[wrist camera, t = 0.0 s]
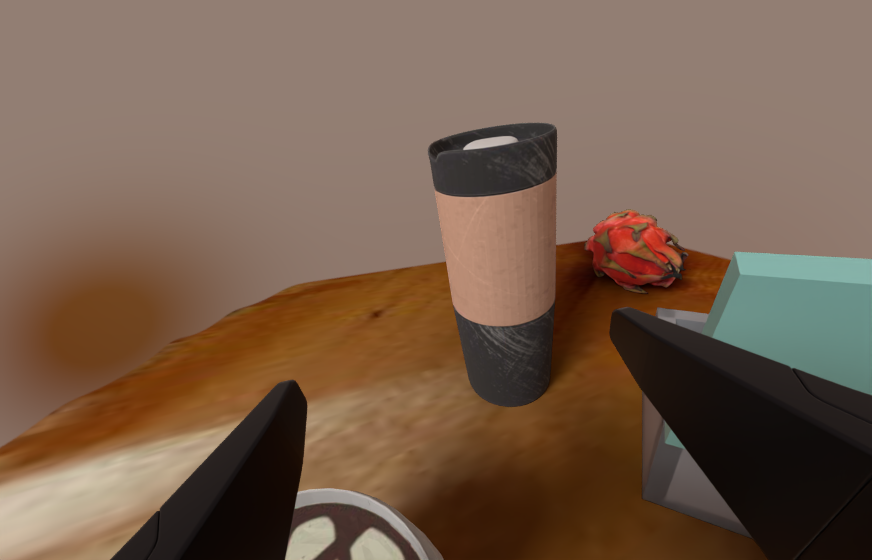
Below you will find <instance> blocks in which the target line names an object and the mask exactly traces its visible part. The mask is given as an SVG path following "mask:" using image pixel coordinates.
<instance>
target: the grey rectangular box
mask: <svg viewBox="0 0 872 560" xmlns="http://www.w3.org/2000/svg"><path fill="white" fill-rule="evenodd" d="M708 316H709V314H704V313H696V312H688V311H680V310H672V309H664V308H657V312H656V316H655V317H658V318H660V319H663V320H666V321H669V322H671V323H674V324H677V325H679V326H682V327H685V328H688V329H690V330H693V331H696V332H698V333H702V331H703V328H704V326H705V323H706V321H707V318H708ZM642 499H645V500H647V501H650V502H653V503H656V504H658V505H661V506H664V507H667V508H669V509H672V510H675V511H678V512H680V513H683V514H686V515H689V516H691V517H694V518H697V519H700V520H702V521H705V522H708V523H711V524H713V525H716V526H719V527H722V528H724V529H727V530H730V531H733V532H735V533H738V534H741V535H744V536H746V537H749V538H752V537H751V536H750V534H749V533H748V532H747V530H746V529H745V528H744V526H743V525H742V524H741V522H740V521H739V520H738V518H737V517H736V516H735V514H734V513H733V511H732V510H731V509H730V507H729V506H728V505H727V503H726V502H725V501H724V499H723V498H722V497H721V495H720V494H719V493H718V491H717V490H716V489H715V487H714V486H713V485H712V483H711V482H710V481H709V479H708V478H707V477H706V475H705V474H704V473H703V471H702V470H701V469H700V467H699V466H698V465H697V463H696V462H695V461H694V459H693V458H692V457H691V455H690V454H689V453H688V451H687V450H686V449H683V448H680V447H676V446H673V445H669V444H666V443H665V421H664V419H663V418H662V417H661V415H660V414H659V413H658V411H657V410H656V409H655V407H654V406H653V405H652V403H651V402H650V401H649V399H648V398H647V397H646V395H645V394H644V392H643V391H642ZM752 539H753V538H752Z"/></svg>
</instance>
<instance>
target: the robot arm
mask: <svg viewBox="0 0 872 560" xmlns="http://www.w3.org/2000/svg"><path fill="white" fill-rule="evenodd" d="M610 338H611V340H612V342H613V344H614V346H615V347H616V349H617V351H618V352H619V354H620V356H621V357H622V359H623V361H624V362H625V364H626V366H627V367H628V369H629V371H630V372H631V374H632V376H633V377H634V379H635V381H636V382H637V384H638V385H639V387H640V388H641V390H642V391H643V392H644V394H645V395H646V397H647V398H648V399H649V401H650V402H651V403H652V405H653V406H654V407H655V409H656V410H657V411H658V413H659V414H660V415H661V417H662V418H663V419H664V421H665V422H666V423H667V425H668V426H669V427H670V429H671V430H672V431H673V433H674V434H675V435H676V437H677V438H678V439H679V441H680V442H681V443H682V445H683V446H684V447H685V449H686V450H687V451H688V453H689V454H690V455H691V457H692V458H693V459H694V461H695V462H696V463H697V465H698V466H699V467H700V469H701V470H702V471H703V473H704V474H705V475H706V477H707V478H708V479H709V481H710V482H711V483H712V485H713V486H714V487H715V489H716V490H717V491H718V493H719V494H720V495H721V497H722V498H723V499H724V501H725V502H726V503H727V505H728V506H729V507H730V509H731V510H732V511H733V513H734V514H735V516H736V517H737V518H738V520H739V521H740V522H741V524H742V525H743V526H744V528H745V529H746V530H747V532H748V533H749V534H750V536H751V537H752V538H753V540H754V541H755V542H756V544H757V545H758V546H759V548H760V549H761V550H762V552H763V553H764V554H765V556H766V557H767V558H768V560H872V395H870V394H867V393H864V392H861V391H858V390H855V389H852V388H849V387H846V386H843V385H840V384H838V383H835V382H832V381H829V380H826V379H823V378H821V377H818V376H815V375H812V374H810V373H807V372H804V371H802V370H799V369H796V368H792V369H791V367H790V366H788V365H785V364H782V363H780V362H777V361H774V360H772V359H769V358H766V357H763V356H761V355H758V354H755V353H753V352H750V351H747V350H744V349H742V348H739V347H736V346H734V345H731V344H728V343H725V342H723V341H720V340H717V339H715V338H712V337H709V336H707V335H704V334H701V333H698V332H696V331H693V330H690V329H688V328H685V327H682V326H679V325H677V324H674V323H671V322H669V321H666V320H663V319H660V318H658V317H655V316H652V315H650V314H647V313H644V312H641V311H639V310H636V309H633V308H630V307H625V308H620V309H616V310H614V311H613V312H612V317H611V324H610ZM306 419H307V401H306V398H305V396H304V394H303V393H302V391H301V389H300V387H299V385H298V384H297V382H296V381H295V380H288V381H284V382H280V383H278V384H277V385H276V386H275V387H274V388H273V389H272V390H271V391H270V392H269V393H268V394H267V395H266V396H265V397H264V399H263V400H262V401H261V402H260V403H259V404H258V405H257V406H256V407H255V408H254V409H253V410H252V411H251V412H250V413H249V414H248V415H247V416H246V418H245V419H244V420H243V421H242V422H241V423H240V424H239V425H238V426H237V427H236V428H235V429H234V430H233V431H232V432H231V433H230V434H229V436H228V437H227V438H226V439H225V440H224V441H223V442H222V443H221V444H220V445H219V446H218V447H217V448H216V449H215V450H214V451H213V452H212V454H211V455H210V456H209V457H208V458H207V459H206V460H205V461H204V462H203V463H202V464H201V465H200V466H199V467H198V468H197V469H196V470H195V471H194V473H193V474H192V475H191V476H190V477H189V478H188V479H187V480H186V481H185V482H184V483H183V484H182V485H181V486H180V487H179V488H178V489H177V491H176V492H175V493H174V494H173V495H172V496H171V497H170V498H169V499H168V500H167V501H166V502H165V503H164V504H163V505H162V506H161V508H160V511H157V512H156V513H155V514H154V515H153V516H152V517H151V518H150V519H149V520H148V521H147V522H146V523H145V524H144V525H143V526H142V527H141V528H140V530H139V531H138V532H137V533H136V534H135V535H134V536H133V537H132V538H131V539H130V540H129V541H128V542H127V543H126V544H125V545H124V546H123V547H122V548H121V549H120V550H119V551H118V552H117V553H116V554H115V555H114V556H113V557H112V558H111V559H110V560H285V557H286V552H287V547H288V541H289V536H290V531H291V525H292V520H293V515H294V509H295V504H296V498H297V493H298V488H299V482H300V477H301V471H302V465H303V457H304V445H305V432H306Z"/></svg>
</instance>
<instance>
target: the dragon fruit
mask: <svg viewBox="0 0 872 560" xmlns="http://www.w3.org/2000/svg"><path fill="white" fill-rule="evenodd" d="M593 231H594V233H595V235H594V236H591V237H590V238H589V239H588V241H587V243H585V244H584V246H585V250H587V251H593V252H594V258H593V263H592V264H593V269H594V271H595V270H596V271H595V274H596V275H597V276H598V277H602V276H604V275H605V273H606V274H607V275H608V276H609V277H611V278H612V279H613V280H615V282H616V283H617V284H618V285H620V286H622V287H624V288H623V289H625V290H629V291H632V292H636V293H647V292H646V291H644V290H643V289H642V288H641V287H639V286H638V285H644V284H646V283H650V284H652V285H657V286H659V285H661V286H663V287H666V288H667V287H668V286H669V285H670V284H671V283H672V282H673V281H674V280H675V278H679V279H680V280H682V275H681V273H680V274H678V273H679V271H681V270H685V269H684V268H683V263H684V260H685V259H686V258H687V256H688V254H687V253H684V252H683V253H682V254H680V253H678V252H676V251H675V250H673V249H672V248H670V247H668V246H667V244H666V243H667V242H669V241H671V240H672V242H673V244H674V245H675V246H676V247H677V248H678V249H680V250H683V251H685V249H684V248H682V247H681V246H679V245H678V244H677V243H678V239H677V238H676V237H675V236H674V235H672V234H671V233H669V232H668V231H666V230H664V229H663V228H659V227H657V219H656V218H655V217H654V216H651V215H647V216H645V215H640V214H639V213H638V212H637V211H635V210H631V209H628V210H625V211H622V212H620V213H616V212H614V213H612V214H611V215H610V216H608V217H607V219H606V220H602V221H601V222H600V223H599V224H597V225H596V226H595V227H594V228H593ZM672 270H673V272H674V273H672ZM689 270H691V269H689Z"/></svg>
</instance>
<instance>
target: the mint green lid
mask: <svg viewBox="0 0 872 560" xmlns="http://www.w3.org/2000/svg"><path fill="white" fill-rule="evenodd" d="M701 334H704V335H707V336H709V337H712V338H715V339H717V340H720V341H723V342H725V343H728V344H731V345H734V346H736V347H739V348H742V349H744V350H747V351H750V352H753V353H755V354H758V355H761V356H763V357H766V358H769V359H772V360H774V361H777V362H780V363H782V364H785V365H788V366H790V367H791V369H792V368H796V369H799V370H802V371H804V372H807V373H810V374H812V375H815V376H818V377H821V378H823V379H826V380H829V381H832V382H835V383H838V384H840V385H843V386H846V387H849V388H852V389H855V390H858V391H861V392H864V393H867V394H870V395H872V259H859V258H839V257H821V256H803V255H785V254H766V253H748V252H747V253H746V252H734V255H733V257H732V260H731V262H730V265H729V267H728V269H727V272H726V274H725V277H724V279H723V282H722V284H721V287H720V289H719V291H718V294H717V296H716V299H715V301H714V304H713V306H712V309H711V311H710V313H709V316H708V318H707V321H706V323H705V326H704V328H703V331H702V333H701ZM665 443H666V444H669V445H673V446H676V447H680V448H683V449H685V447H684V446H683V445H682V443H681V442H680V441H679V439H678V438H677V437H676V435H675V434H674V433H673V431H672V430H671V429H670V427H669V426H668V425H667V423H666V422H665Z"/></svg>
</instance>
